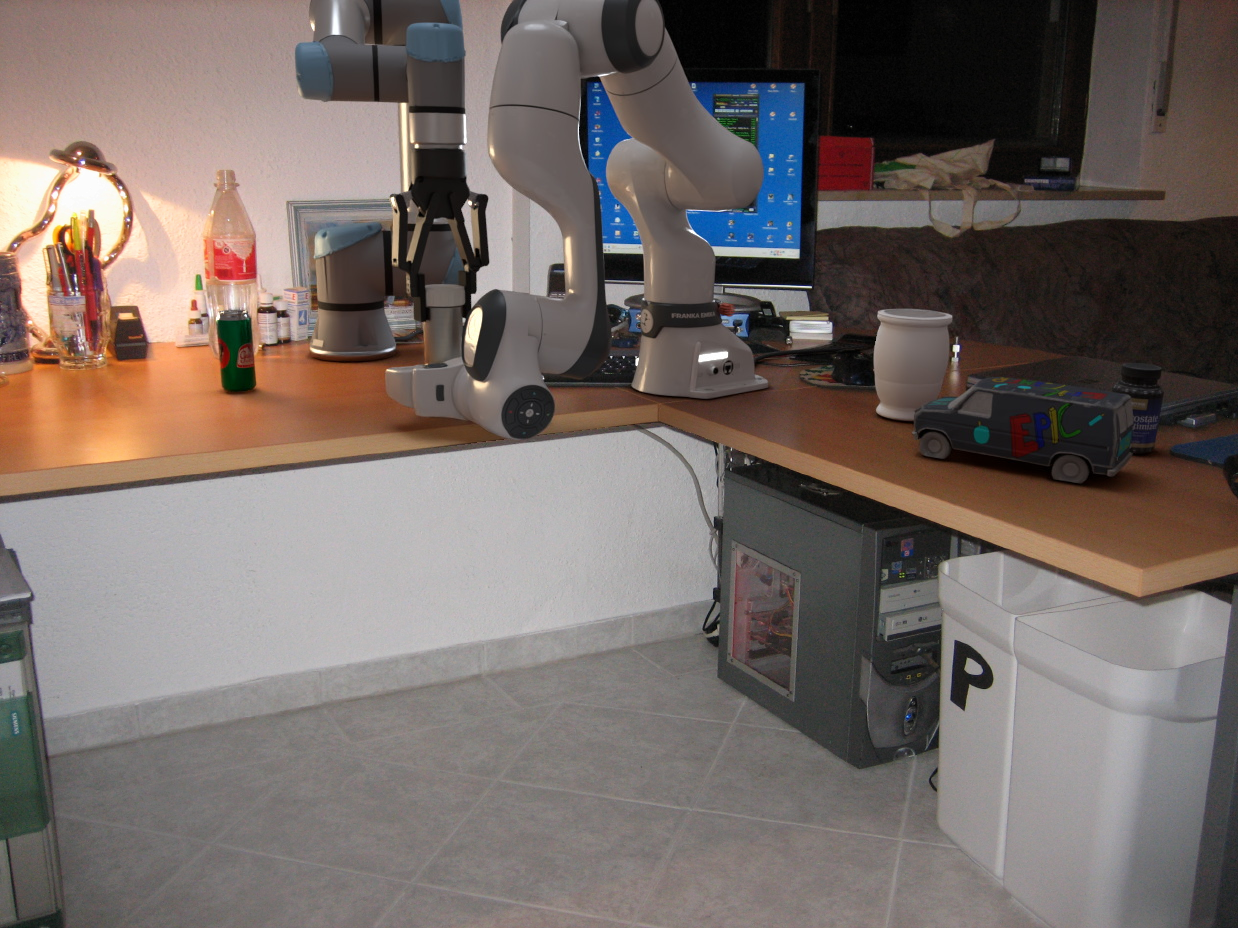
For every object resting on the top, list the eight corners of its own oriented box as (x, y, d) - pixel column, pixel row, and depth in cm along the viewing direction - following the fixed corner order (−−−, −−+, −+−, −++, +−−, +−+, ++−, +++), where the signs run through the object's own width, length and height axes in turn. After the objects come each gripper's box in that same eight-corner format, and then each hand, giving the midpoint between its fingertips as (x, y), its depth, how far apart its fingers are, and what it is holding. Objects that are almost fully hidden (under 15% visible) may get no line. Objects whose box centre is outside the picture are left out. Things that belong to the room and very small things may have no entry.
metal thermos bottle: (469, 409, 156) (467, 288, 151) (457, 417, 151) (454, 293, 146) (434, 406, 157) (430, 287, 152) (420, 415, 152) (416, 291, 147)
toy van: (934, 436, 145) (942, 364, 142) (1131, 470, 131) (1144, 390, 128) (905, 453, 136) (913, 376, 134) (1112, 490, 123) (1125, 406, 120)
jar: (854, 409, 159) (862, 309, 155) (910, 404, 163) (920, 306, 159) (898, 426, 150) (909, 320, 146) (957, 420, 154) (969, 317, 150)
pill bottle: (1117, 454, 138) (1130, 370, 135) (1094, 442, 144) (1106, 361, 140) (1163, 454, 138) (1177, 370, 135) (1139, 442, 144) (1152, 361, 141)
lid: (471, 301, 152) (470, 285, 151) (456, 307, 146) (456, 290, 145) (429, 299, 153) (428, 283, 152) (413, 305, 147) (412, 288, 146)
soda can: (245, 393, 162) (239, 314, 158) (215, 391, 163) (208, 313, 159) (262, 387, 166) (257, 310, 163) (233, 385, 167) (226, 308, 164)
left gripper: (491, 148, 151) (493, 311, 158) (360, 146, 142) (368, 319, 148) (514, 149, 145) (516, 318, 152) (379, 146, 136) (386, 327, 142)
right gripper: (549, 357, 145) (508, 341, 157) (404, 370, 135) (371, 351, 147) (549, 403, 147) (508, 383, 159) (406, 418, 137) (373, 396, 149)
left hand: (443, 318), depth 150 cm, fingers closed on lid, 6 cm apart
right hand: (441, 368), depth 153 cm, fingers closed on metal thermos bottle, 5 cm apart
